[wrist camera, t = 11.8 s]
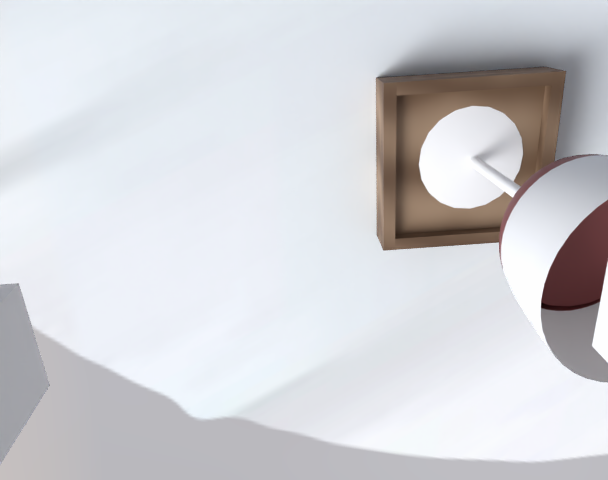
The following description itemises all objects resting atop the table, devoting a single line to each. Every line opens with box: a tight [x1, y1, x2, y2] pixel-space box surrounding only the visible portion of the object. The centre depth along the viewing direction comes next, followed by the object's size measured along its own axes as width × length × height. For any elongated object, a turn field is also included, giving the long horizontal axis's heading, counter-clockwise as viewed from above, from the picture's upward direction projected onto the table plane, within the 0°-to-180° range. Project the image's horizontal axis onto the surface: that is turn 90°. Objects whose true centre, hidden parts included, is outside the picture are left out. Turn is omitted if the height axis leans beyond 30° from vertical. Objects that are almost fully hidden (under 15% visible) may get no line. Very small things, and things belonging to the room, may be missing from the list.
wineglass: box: [419, 106, 608, 382], centre depth 33 cm, size 9×10×23 cm
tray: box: [376, 67, 566, 250], centre depth 45 cm, size 14×14×4 cm
